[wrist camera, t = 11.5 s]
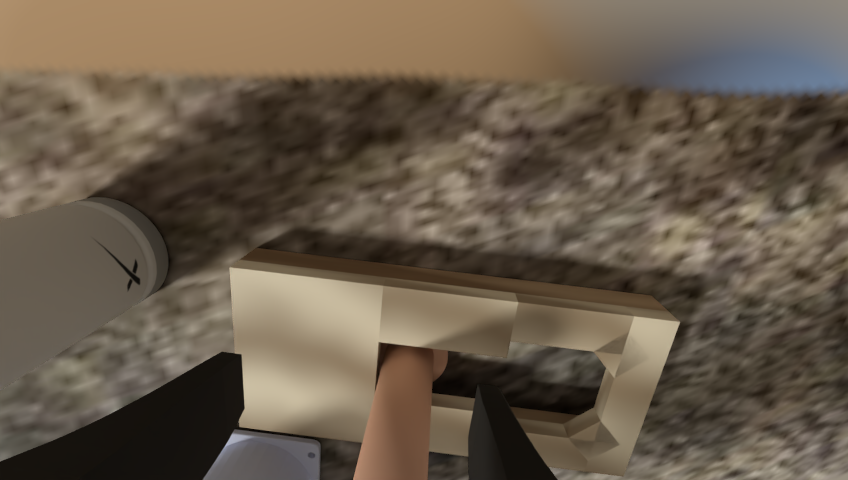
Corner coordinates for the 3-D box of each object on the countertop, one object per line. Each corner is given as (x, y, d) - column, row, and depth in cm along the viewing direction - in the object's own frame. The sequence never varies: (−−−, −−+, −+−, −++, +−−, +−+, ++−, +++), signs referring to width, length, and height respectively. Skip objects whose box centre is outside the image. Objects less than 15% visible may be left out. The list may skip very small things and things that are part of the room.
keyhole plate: (604, 436, 25) (623, 476, 22) (261, 393, 25) (239, 426, 22) (651, 295, 21) (680, 321, 19) (256, 247, 22) (229, 267, 19)
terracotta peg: (443, 380, 24) (441, 558, 14) (372, 372, 24) (324, 543, 15) (452, 317, 22) (455, 469, 13) (376, 309, 23) (326, 453, 13)
